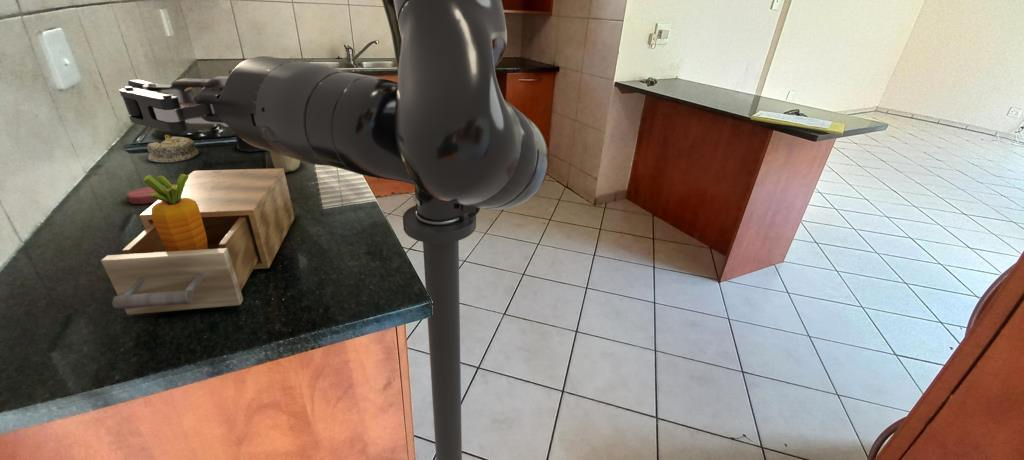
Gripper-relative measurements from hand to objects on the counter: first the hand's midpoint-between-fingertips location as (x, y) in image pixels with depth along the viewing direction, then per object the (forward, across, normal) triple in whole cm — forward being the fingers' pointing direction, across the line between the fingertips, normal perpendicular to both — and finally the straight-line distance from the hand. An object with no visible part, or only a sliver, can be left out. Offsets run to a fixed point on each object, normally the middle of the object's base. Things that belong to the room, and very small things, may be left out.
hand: (188, 86), depth 40 cm
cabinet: (+19, -9, +28) cm, 35 cm away
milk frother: (+64, -44, +28) cm, 83 cm away
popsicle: (+46, -14, +28) cm, 56 cm away
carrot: (+11, 0, +26) cm, 28 cm away
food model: (+42, -36, +28) cm, 62 cm away
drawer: (+11, 0, +27) cm, 29 cm away
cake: (+71, -26, +28) cm, 80 cm away
